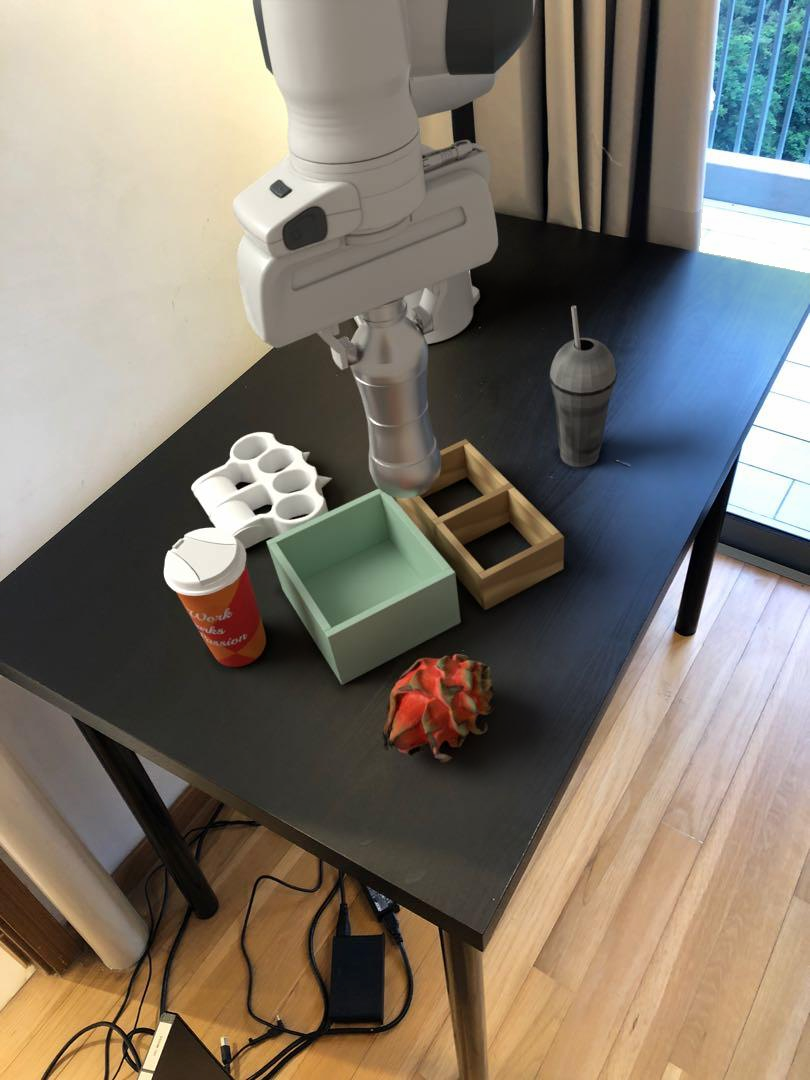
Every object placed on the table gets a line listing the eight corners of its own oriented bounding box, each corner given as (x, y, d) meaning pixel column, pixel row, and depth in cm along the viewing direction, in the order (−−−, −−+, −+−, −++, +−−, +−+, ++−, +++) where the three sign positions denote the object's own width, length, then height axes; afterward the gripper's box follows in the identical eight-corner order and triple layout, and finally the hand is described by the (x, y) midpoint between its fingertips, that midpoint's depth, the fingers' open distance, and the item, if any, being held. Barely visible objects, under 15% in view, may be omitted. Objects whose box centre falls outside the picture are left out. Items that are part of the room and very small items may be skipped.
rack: (396, 505, 101) (391, 473, 97) (468, 470, 104) (465, 438, 100) (484, 610, 89) (482, 579, 85) (563, 569, 92) (564, 536, 88)
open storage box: (282, 589, 94) (265, 540, 89) (392, 536, 98) (383, 486, 92) (342, 685, 85) (327, 637, 79) (461, 622, 88) (455, 572, 83)
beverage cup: (610, 477, 100) (621, 327, 86) (545, 474, 102) (546, 327, 87) (612, 435, 105) (623, 287, 90) (550, 433, 106) (552, 287, 92)
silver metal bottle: (457, 487, 80) (440, 294, 66) (394, 518, 78) (362, 327, 64) (420, 450, 84) (397, 261, 70) (359, 479, 82) (322, 291, 68)
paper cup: (187, 657, 89) (142, 567, 79) (236, 605, 93) (198, 513, 83) (244, 688, 86) (204, 598, 76) (292, 633, 90) (260, 540, 80)
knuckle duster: (186, 485, 108) (292, 437, 112) (243, 574, 96) (358, 517, 100) (178, 465, 105) (286, 416, 109) (235, 554, 94) (354, 496, 98)
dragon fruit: (504, 702, 83) (404, 781, 81) (451, 629, 84) (350, 706, 81) (529, 704, 75) (418, 793, 72) (470, 624, 75) (358, 709, 73)
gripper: (463, 119, 65) (474, 285, 75) (209, 209, 60) (257, 375, 70) (511, 145, 61) (516, 316, 71) (244, 244, 56) (289, 415, 66)
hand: (386, 346), depth 70 cm, fingers closed on silver metal bottle, 6 cm apart
